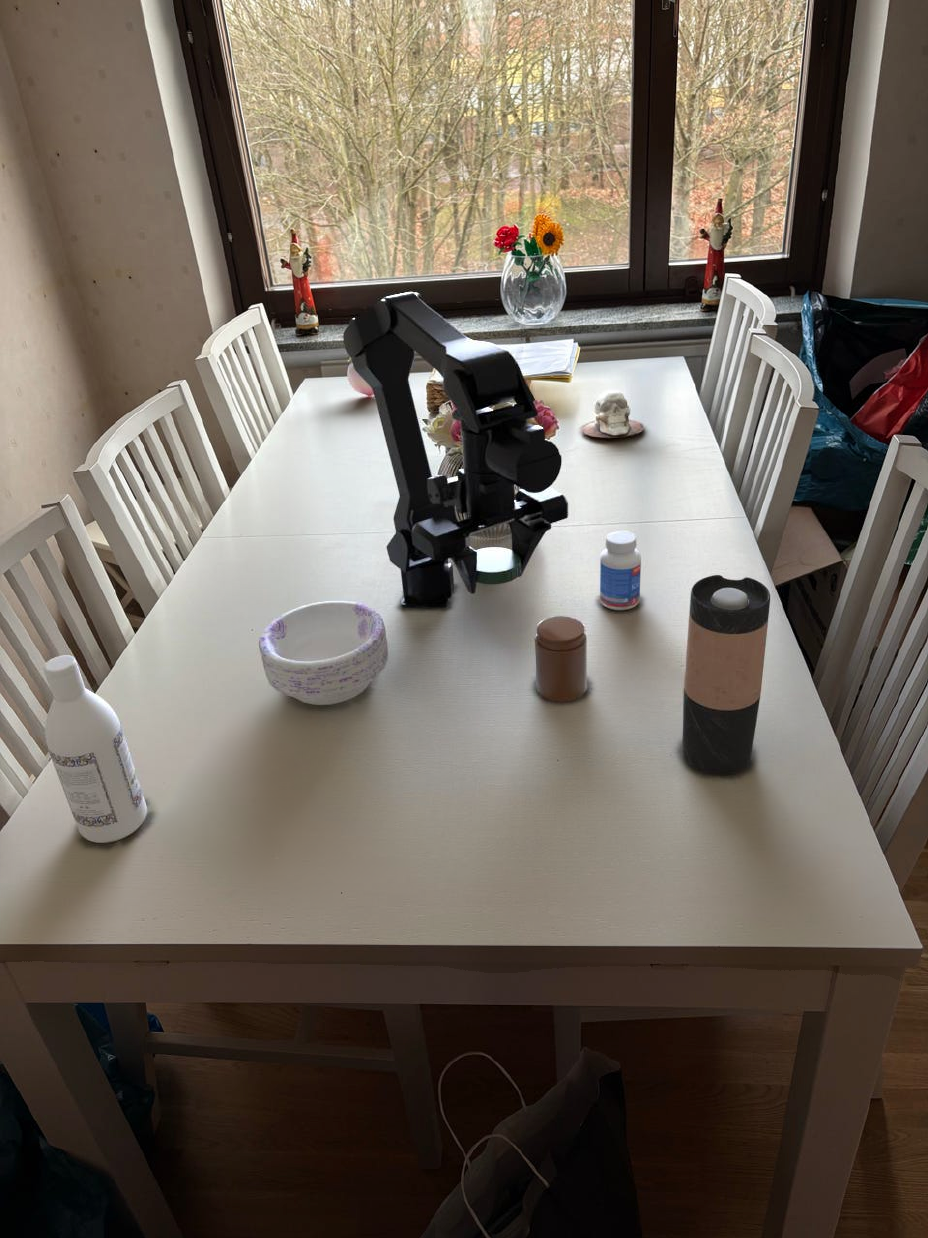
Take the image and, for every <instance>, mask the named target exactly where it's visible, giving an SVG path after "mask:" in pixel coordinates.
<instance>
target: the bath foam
mask: <svg viewBox="0 0 928 1238" xmlns="http://www.w3.org/2000/svg"><path fill="white" fill-rule="evenodd" d="M43 672H44V675H45V677H46V680H47V683H48V686H49V689H50V691H51V694H52V696H53V697H52V698H53V700H52V702H51V704H50V707H49V710H48V712H47V715H46V719H45V723H44V737H45V742H46V747H47V750H48V752H49V756H50V758H51V761H52V763H53V767H54V769H55V772H56V774H57V777H58V779H59V782H60V785H61V788H62V790H63V793H64V795H65V798H66V801H67V803H68V806H69V809H70V811H71V814H72V816H73V819H74V821H75V824H76V827H77V829H78V832H79V833H80V835H81V836H82V837H83V838H84V839H85V840H87V841H89V842H92V843H97V844H107V843H112V842H116V841H120V840H122V839H125V838H126V837H128V836H130V835H131V834H133V833H134V832H136V831H137V830H138V829H139V828H140V827H141V825H142V824H143V823H144V822H145V819H146V818H147V814H148V807H147V804H146V799H145V796H144V795H143V794H144V793H143V790H142V787H141V783H140V782H139V781H140V780H139V778H138V774H137V772H136V769H135V765H134V761H133V759H132V756H131V753H130V750H129V746H128V743H127V740H126V736H125V734H124V731H123V728H122V725H121V722H120V720H119V717H118V716H117V714H116V711H115V710H114V709H113V708H112V707H111V705H110V704H109V703H108V702H107V701H106V700H105V699H104V698H102V697H101V696H99V695H98V694H96V693H94V692H92V691H91V690H90V689H88V688H86V687H85V682H84V680H83V677H82V674H81V671H80V668H79V664H78V662H77V660H76V658H75V657H74V656H73V655H69V654H68V655H67V654H66V655H65V654H63V655H58V656H55V657H53V658H51V659H49V660H48V661H46V662H45V663H44V665H43Z"/></svg>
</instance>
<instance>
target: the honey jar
mask: <svg viewBox="0 0 928 1238" xmlns="http://www.w3.org/2000/svg"><path fill="white" fill-rule="evenodd" d="M586 630H587V629H586V625H585V624H584V623H583V622H582V621H581V620H579V619H577V618H576V617H572V616H567V615H555V616H550V617H546V618H544V619H542V620H541V621H540V622H538V624H537V626H536V633H535V637H534V651H535V652H534V654H535V655H534V656H535V675H536V676H535V679H536V681H535V683H536V691H537V692H538V694H539V695H540V696H541V697H543V698H544V699H546V700H549V701H553V702H561V703H563V702H571V701H574V700H575V701H576V700H577V699H579V698H581V697H582V696H583V695H584V694H585V693H586V691H587V690H588V689H587V687H588V686H587V685H588V683H587V682H588V681H587V680H588V679H587V678H588V673H587V671H588V667H587V666H588V665H587V663H588V661H587V660H588V657H587V656H588V654H587V653H588V652H587V651H588V648H587V647H588V644H587V641H588V639H587V635H586Z"/></svg>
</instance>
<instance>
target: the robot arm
mask: <svg viewBox="0 0 928 1238" xmlns="http://www.w3.org/2000/svg"><path fill="white" fill-rule="evenodd" d="M342 340H343V345H344V348H345V351H346V353H347V355H348V357H349V358H351V360H350V361H351V362H352V363H353V366H354V369H355V371H356V372H357V373H358V374H359V375H360V376H361V377H362V378H363V379H364V380H365V381H366V382H367V383H368V384H369V385H370V387H371V388H372V390H373V393H374V395H373V396H374V397H373V398H374V400H375V405H376V408H377V413H378V416H379V420H380V425H381V428H382V431H383V435H384V440H385V444H386V448H387V451H388V455H389V460H390V463H391V467H392V472H393V474H394V479H395V482H396V486H397V490H398V495H399V497H398V501H397V503H396V507H395V511H394V514H393V519H392V520H393V525H394V530H395V533H394V534H393V536H392V537H391V539H390V541H389V542H388V544H387V545H386V546H385V548H386V551H387V556H388V559H389V561H390V563H391V564H393V565H394V566H395V567H397V568H398V569H399V570H400V577H401V586H402V594H403V596H402V598H401V601H400V606H401V607H402V608H429V609H444V608H447V606H448V603H449V601H450V599H451V598H452V597H453V593H454V591H455V578H454V568H453V564H454V565H455V568H456V569H457V571H458V574H459V576H460V577H461V580H462V582H463V584H464V587H465V588H466V590H467V592H469V594H471V595H474V594H475V593H476V589H477V582H476V580H477V551H476V550H477V549H474V548H473V547H472V546H471V544H470V538H471V536H473V535H476V534H477V535H478V534H479V533H483V532H486V531H489V530H491V529H495V528H497V527H501V526H504V525H506V524H508V526H509V529H510V533H511V550H512V551H514V552H516V553H518V554H519V556H520V558H521V566H522V571H521V573H520V575H519V576H518V577H517V578H521V577H522V576H523V573H524V571H525V570H526V568H527V566H528V564H529V562H530V560H531V557H532V556H533V554H534V552H535V550H536V548H537V547H538V545H539V544H540V543H541V540H542V539H543V537H544V536H545V534H546V532H547V531H548V532H549V531H550V530H552V524H554V523H557V522H560V521H563V520H566V519H568V518H569V502H568V499H567V498H566V496H565V495H564V494H563V493H561V492H559V491H557V490H555V489H553V488H551V486H552V485H553V484H554V483H555V482H556V480H557V478H558V477H559V475H560V471H561V468H562V461H563V460H562V455H561V453H560V451H559V448H558V446H557V445H556V444H555V443H554V442H552V441H551V440H549V439H546V430H545V428H544V427H542V426H540V425H535V424H532V423H529V422H527V420H531V419H534V418H537V417H538V416H539V413H538V410H537V407H536V404H535V401H536V398H535V396H534V394H533V392H532V391H531V389H530V387H529V384H528V383H527V381H526V379H525V377H524V375H523V372H522V369H521V367H520V365H519V363H518V361H517V360H516V359H515V357H514V356H513V354H512V353H511V352H510V351H508V349H505V348H503V347H501V346H499V345H497V344H494V343H492V342H488V341H481V340H473V339H471V338H469V337H467V336H466V335H465V334H463V333H462V332H461V331H460V330H458V329H457V328H456V327H455V326H453V325H452V324H451V323H450V322H449V321H447V320H446V319H445V318H443V316H442V315H440V314H439V313H438V312H436V311H435V310H434V309H432V308H431V307H430V306H429V305H427V304H426V302H425V300H424V298H423V296H422V295H421V294H420V293H418V292H413V291H408V292H404V293H399V294H393V295H389V296H384V297H383V298H382V299H381V300H378V301H377V303H376V304H375V305H374V306H373V307H371V308H370V309H368V310H366V311H365V312H363V313H361V314H360V315H358V316H357V317H354V318H351V319H350V320H349V322H348V325H347V327H346V328H345V329H344V331H343V335H342ZM416 354H417V355H418V356H420V357H421V358H422V359H423V360H424V361H425V362H427V363H428V364H429V366H431V367H432V368H433V369H435V371H436V372H438V373H439V375H440V376H441V377H442V391H443V393H444V394H445V395H446V396H447V397H448V399H449V400H450V402H451V403H452V405H453V406H454V408H455V409H454V410H453V411H452V412H451V417H452V419H453V420H455V421H457V422H459V423H460V437H461V451H462V464H463V468H461V469H458V470H457V474H456V476H454V477H453V476H452V477H449V478H448V477H447V475H446V474H437V475H434V476H433V475H432V471H431V466H430V463H429V458H428V454H427V449H426V447H425V443H424V439H423V438H424V437H423V434H422V429H421V426H420V421H419V418H418V413H417V409H416V406H415V405H416V404H415V402H414V401H415V400H414V398H413V393H412V389H411V385H410V380H409V378H410V375H411V371H412V368H413V364H414V361H415V358H416ZM512 401H514V403H515V404H511V405H506V406H503V407H500V408H496V409H495V408H494V409H492V408H491V407H496V406H499V405H504V404H506V403H510V402H512ZM515 486H516V487H518V488H520V489H519V490H518V491H517V492H516V493H515V491H516V490H515ZM456 512H457V513H459V514H460V515H464V514H465V515H466V518H465V519H461V520H458V518H457V515H456ZM449 559H451V560H452V562H453V564H452V563H449Z"/></svg>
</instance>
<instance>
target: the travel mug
mask: <svg viewBox="0 0 928 1238" xmlns="http://www.w3.org/2000/svg"><path fill="white" fill-rule="evenodd" d="M770 607H771V593H770V590H769V588H768V587H767V586H766V585H765V584H764V583H762V582H760V581H758V580H756V579H754V578H752V577H747V576H745V577H744V578H742V579H729V578H726V577H724V576H723V575H721V574H713V575H710V576H709V575H708V576H706V577H703V578H701V579H699V580H697V581H696V582H695V583H694V584H693V585H692V587H691V590H690V598H689V611H688V612H689V613H688V627H687V640H686V650H685V652H686V653H685V667H684V678H683V702H682V706H683V708H682V755H683V758H684V760H685V762H687V764H688V765H689V766H691V767H692V768H694V769H695V770H697V771H699V772H701V773H704V774H707V775H712V776H729V775H734V774H737V773H739V772H741V771H743V770H745V769H746V768H747V766H748V765H749V764H750V761H751V757H752V751H753V745H754V741H755V740H754V738H755V734H756V726H757V720H758V714H759V707H760V702H761V701H760V700H761V694H762V686H763V676H764V675H763V674H764V665H765V655H766V646H767V637H768V625H769V616H770Z"/></svg>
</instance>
